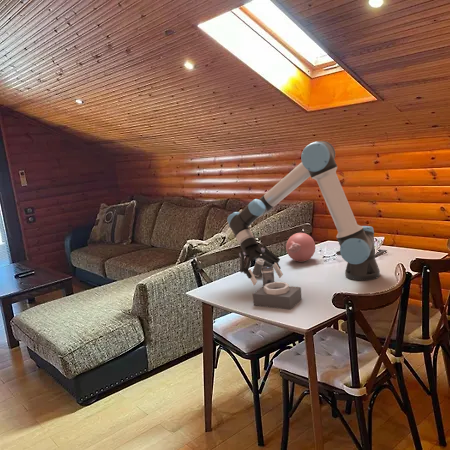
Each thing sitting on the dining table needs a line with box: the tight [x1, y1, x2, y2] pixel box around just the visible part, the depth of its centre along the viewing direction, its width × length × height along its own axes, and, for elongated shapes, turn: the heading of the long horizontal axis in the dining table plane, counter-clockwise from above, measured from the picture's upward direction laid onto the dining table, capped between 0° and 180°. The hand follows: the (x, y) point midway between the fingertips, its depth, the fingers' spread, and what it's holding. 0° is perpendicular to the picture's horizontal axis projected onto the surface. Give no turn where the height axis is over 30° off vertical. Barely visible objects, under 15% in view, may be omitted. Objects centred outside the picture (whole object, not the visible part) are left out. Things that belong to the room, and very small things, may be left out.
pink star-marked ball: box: [285, 232, 316, 263], centre depth 236 cm, size 15×20×15 cm
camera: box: [251, 254, 273, 277], centre depth 225 cm, size 9×16×10 cm, turn 171°
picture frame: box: [335, 248, 388, 258], centre depth 241 cm, size 16×2×21 cm
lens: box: [260, 266, 275, 287], centre depth 196 cm, size 6×6×11 cm
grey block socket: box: [252, 281, 303, 310], centre depth 182 cm, size 16×12×7 cm
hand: (268, 279), depth 195 cm, fingers open, 13 cm apart
